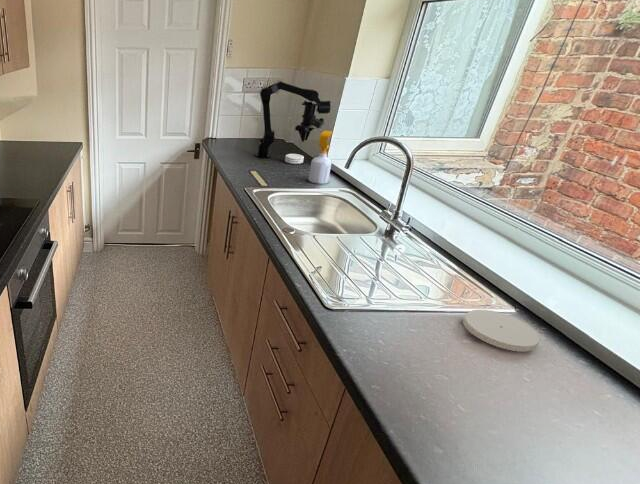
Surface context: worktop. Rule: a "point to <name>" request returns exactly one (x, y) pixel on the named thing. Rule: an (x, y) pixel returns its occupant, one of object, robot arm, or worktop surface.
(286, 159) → the white round container
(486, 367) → the worktop surface
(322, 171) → the soap bottle
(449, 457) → the worktop surface
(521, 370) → the worktop surface
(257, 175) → the strip
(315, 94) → the robot arm
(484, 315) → the plastic lid
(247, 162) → the worktop surface
